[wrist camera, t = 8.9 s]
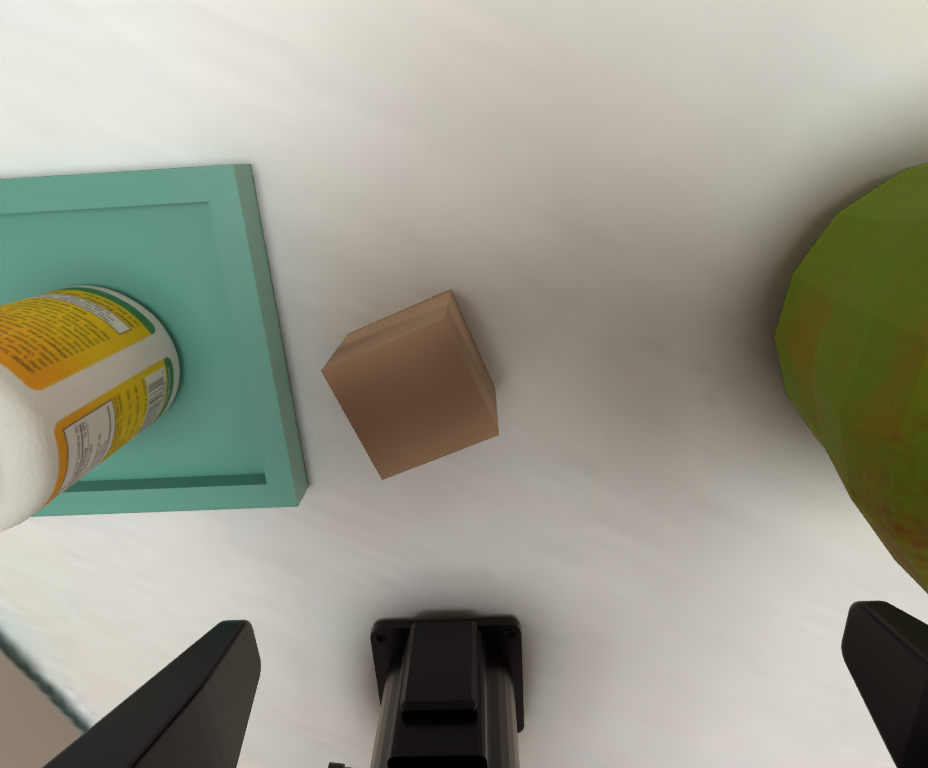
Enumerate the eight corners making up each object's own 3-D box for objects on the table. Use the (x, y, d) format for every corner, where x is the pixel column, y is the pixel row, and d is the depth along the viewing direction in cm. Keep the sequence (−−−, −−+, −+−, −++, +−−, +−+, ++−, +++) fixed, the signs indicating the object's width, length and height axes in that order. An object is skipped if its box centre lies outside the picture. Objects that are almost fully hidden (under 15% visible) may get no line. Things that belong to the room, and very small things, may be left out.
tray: (308, 486, 23) (298, 506, 22) (16, 498, 23) (-12, 518, 22) (250, 164, 19) (233, 164, 17) (-106, 186, 19) (-149, 188, 18)
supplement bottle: (209, 405, 21) (8, 585, 12) (81, 440, 22) (-201, 636, 13) (140, 261, 19) (-158, 347, 10) (2, 305, 20) (-391, 422, 11)
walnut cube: (494, 387, 21) (498, 434, 18) (398, 425, 22) (382, 479, 18) (450, 288, 20) (444, 318, 16) (349, 333, 21) (321, 370, 17)
